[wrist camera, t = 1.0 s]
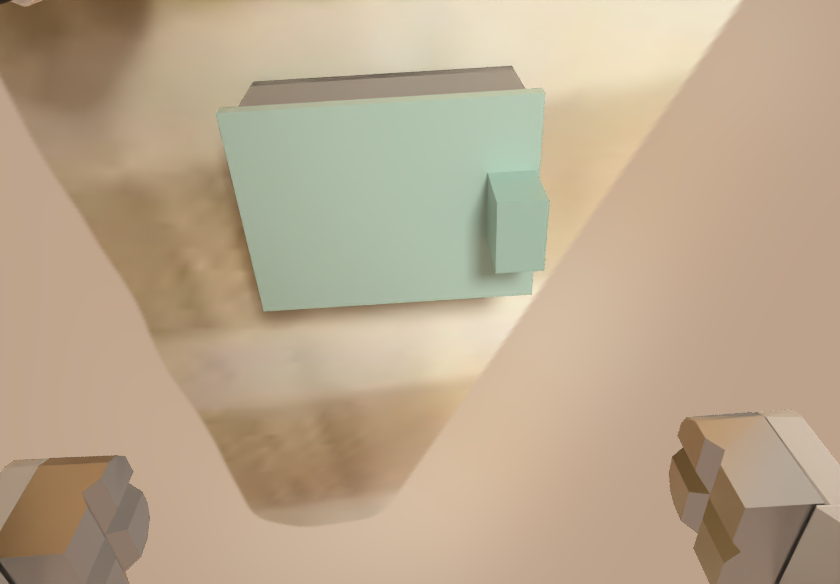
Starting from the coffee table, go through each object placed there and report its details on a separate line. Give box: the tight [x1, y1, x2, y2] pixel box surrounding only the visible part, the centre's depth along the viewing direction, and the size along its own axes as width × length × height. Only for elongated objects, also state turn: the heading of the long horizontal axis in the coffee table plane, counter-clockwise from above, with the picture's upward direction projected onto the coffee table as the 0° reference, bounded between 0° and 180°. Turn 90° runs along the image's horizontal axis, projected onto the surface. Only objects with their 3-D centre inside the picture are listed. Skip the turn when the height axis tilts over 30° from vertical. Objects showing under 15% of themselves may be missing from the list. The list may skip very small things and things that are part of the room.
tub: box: [238, 66, 525, 107], centre depth 37 cm, size 11×15×6 cm
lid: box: [216, 88, 550, 312], centre depth 32 cm, size 12×16×4 cm
